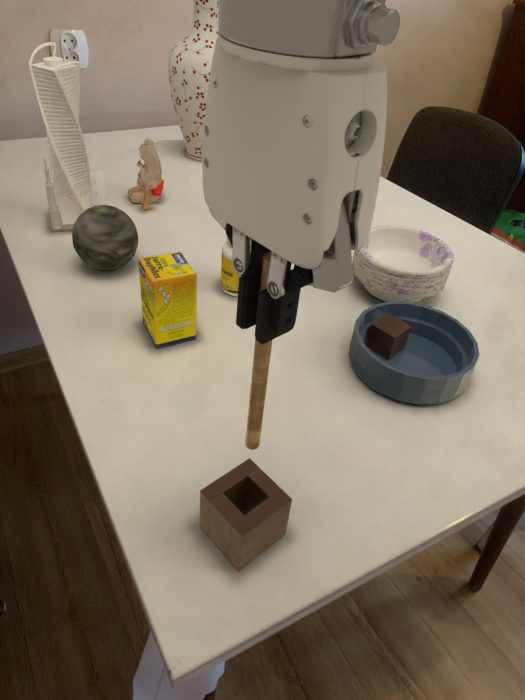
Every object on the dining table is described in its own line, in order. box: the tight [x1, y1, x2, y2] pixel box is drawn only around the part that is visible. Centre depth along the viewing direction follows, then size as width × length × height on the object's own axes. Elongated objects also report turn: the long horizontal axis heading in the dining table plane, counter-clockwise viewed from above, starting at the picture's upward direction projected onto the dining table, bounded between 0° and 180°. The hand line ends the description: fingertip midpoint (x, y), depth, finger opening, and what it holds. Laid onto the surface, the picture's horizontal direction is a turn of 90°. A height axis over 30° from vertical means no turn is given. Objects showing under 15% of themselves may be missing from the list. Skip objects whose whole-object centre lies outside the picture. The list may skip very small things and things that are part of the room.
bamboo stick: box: [244, 252, 273, 451], centre depth 39 cm, size 1×1×18 cm
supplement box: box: [137, 250, 198, 350], centre depth 72 cm, size 6×6×11 cm
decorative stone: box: [71, 204, 139, 271], centre depth 84 cm, size 10×10×10 cm
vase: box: [167, 0, 219, 162], centre depth 116 cm, size 16×16×35 cm
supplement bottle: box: [220, 236, 241, 297], centre depth 82 cm, size 5×5×10 cm
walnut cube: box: [366, 313, 411, 360], centre depth 75 cm, size 4×4×4 cm
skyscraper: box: [28, 41, 93, 233], centre depth 89 cm, size 8×8×28 cm
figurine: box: [126, 138, 165, 211], centre depth 103 cm, size 9×7×12 cm
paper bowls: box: [352, 225, 455, 303], centre depth 86 cm, size 15×15×8 cm
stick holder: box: [199, 458, 293, 572], centre depth 51 cm, size 6×6×6 cm
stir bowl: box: [348, 301, 480, 405], centre depth 73 cm, size 16×16×5 cm
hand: (265, 326), depth 37 cm, fingers closed on bamboo stick, 1 cm apart
